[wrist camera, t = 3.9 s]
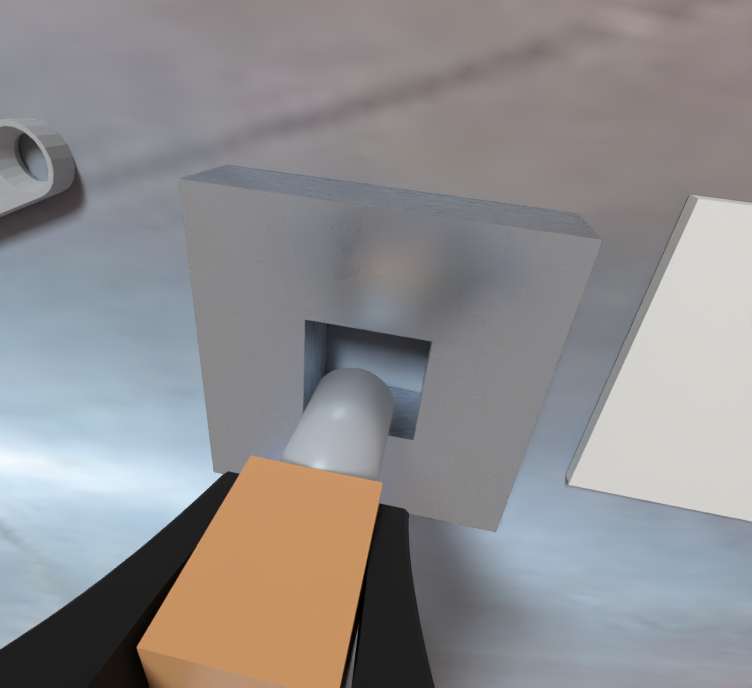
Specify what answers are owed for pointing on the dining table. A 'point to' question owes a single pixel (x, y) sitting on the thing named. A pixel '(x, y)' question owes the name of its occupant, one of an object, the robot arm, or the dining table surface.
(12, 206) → the adjustable wrench
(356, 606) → the key
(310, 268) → the socket block
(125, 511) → the dining table surface
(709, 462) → the mat
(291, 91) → the dining table surface
